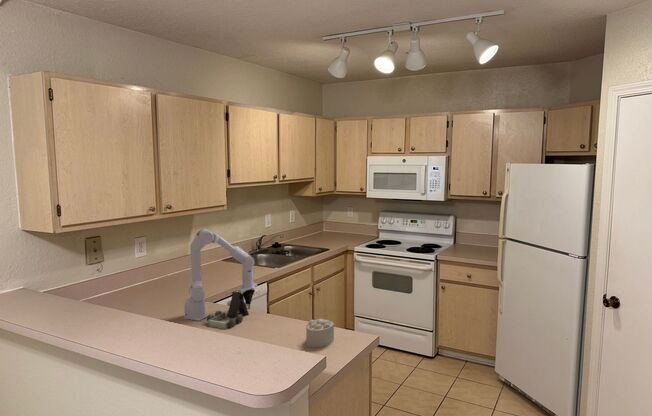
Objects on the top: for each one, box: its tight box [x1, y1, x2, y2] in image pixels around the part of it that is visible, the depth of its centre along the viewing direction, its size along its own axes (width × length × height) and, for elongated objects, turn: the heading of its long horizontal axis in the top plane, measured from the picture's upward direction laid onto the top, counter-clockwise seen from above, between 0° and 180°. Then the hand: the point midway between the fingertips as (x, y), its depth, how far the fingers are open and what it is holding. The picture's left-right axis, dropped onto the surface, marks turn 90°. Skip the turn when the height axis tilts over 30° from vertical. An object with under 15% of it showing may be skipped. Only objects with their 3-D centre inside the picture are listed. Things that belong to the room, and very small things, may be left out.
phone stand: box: [226, 290, 250, 319], centre depth 216 cm, size 9×6×12 cm, turn 135°
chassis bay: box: [206, 310, 244, 330], centre depth 207 cm, size 14×12×4 cm
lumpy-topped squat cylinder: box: [305, 318, 335, 348], centre depth 186 cm, size 10×13×9 cm
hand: (248, 303), depth 225 cm, fingers closed
